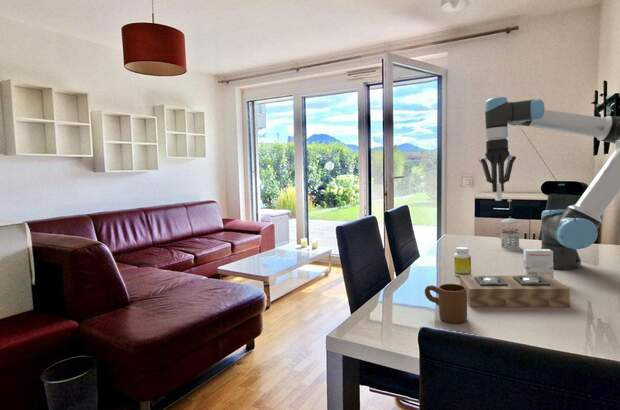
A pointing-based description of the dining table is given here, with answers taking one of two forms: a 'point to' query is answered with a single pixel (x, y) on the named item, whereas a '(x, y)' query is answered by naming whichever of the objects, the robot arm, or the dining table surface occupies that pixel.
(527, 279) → the peg
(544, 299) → the block
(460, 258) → the pill bottle
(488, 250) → the dining table surface
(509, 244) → the french press
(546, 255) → the ink box
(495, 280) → the peg
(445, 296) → the mug
